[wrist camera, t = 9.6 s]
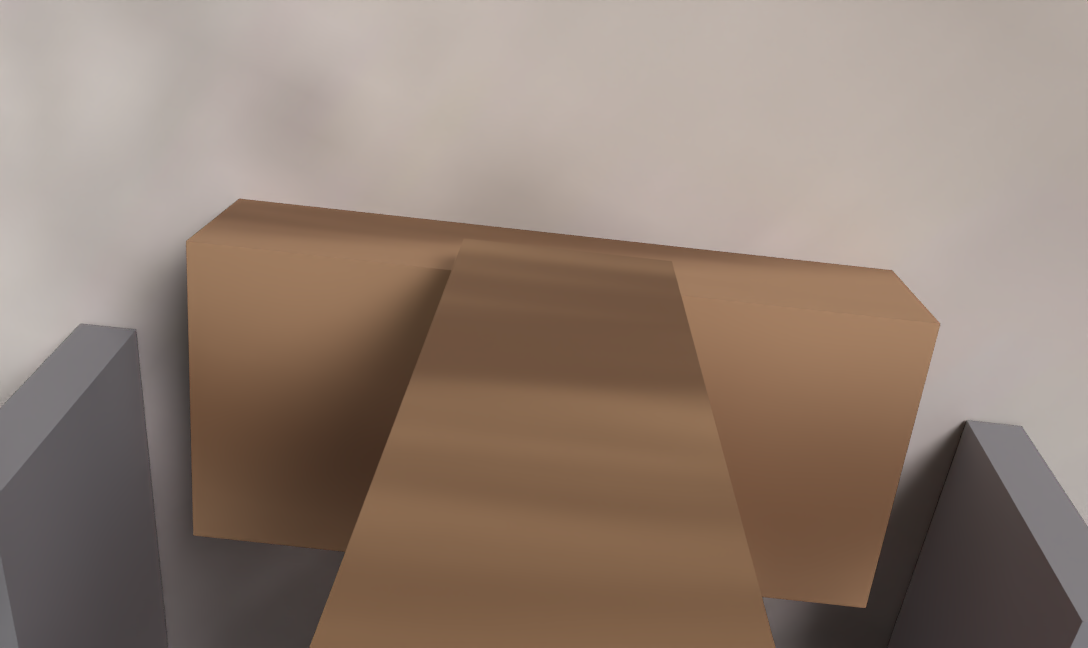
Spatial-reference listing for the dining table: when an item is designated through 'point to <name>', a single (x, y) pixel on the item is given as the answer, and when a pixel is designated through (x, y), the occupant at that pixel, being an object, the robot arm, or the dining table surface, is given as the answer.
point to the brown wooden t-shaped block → (546, 426)
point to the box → (133, 560)
